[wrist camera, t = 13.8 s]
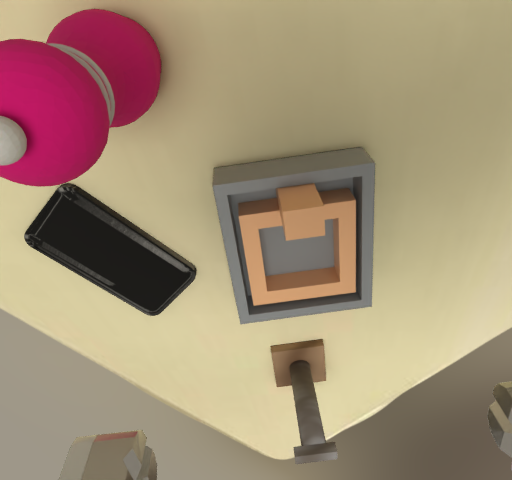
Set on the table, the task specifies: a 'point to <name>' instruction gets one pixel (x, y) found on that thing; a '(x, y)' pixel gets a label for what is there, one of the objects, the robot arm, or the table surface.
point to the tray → (300, 250)
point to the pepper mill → (72, 94)
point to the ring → (298, 227)
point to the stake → (305, 395)
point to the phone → (109, 250)
